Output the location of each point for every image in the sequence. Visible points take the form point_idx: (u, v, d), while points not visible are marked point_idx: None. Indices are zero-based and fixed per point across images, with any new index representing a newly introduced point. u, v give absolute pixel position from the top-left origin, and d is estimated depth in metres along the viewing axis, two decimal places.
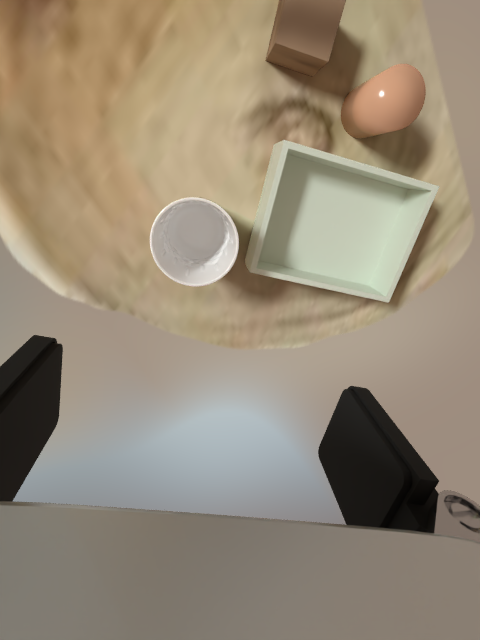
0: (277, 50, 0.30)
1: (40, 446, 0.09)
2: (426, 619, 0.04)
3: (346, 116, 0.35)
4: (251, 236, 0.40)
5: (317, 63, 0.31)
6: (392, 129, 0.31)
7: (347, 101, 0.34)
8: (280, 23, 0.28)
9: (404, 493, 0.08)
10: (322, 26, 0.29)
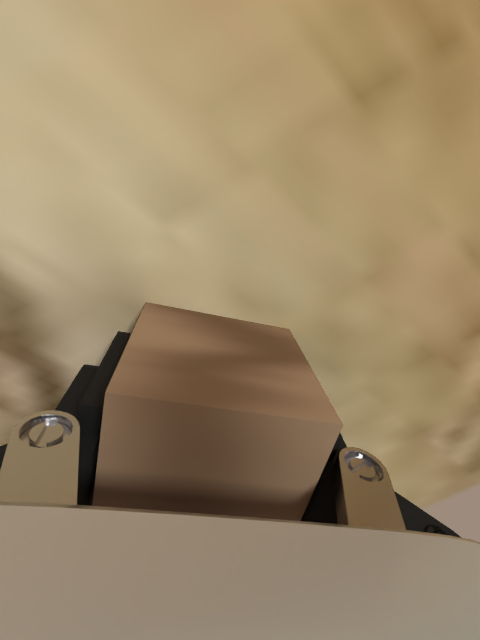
0: None
1: None
2: (426, 619, 0.04)
3: None
4: None
5: None
6: None
7: None
8: (178, 403, 0.07)
9: None
10: None
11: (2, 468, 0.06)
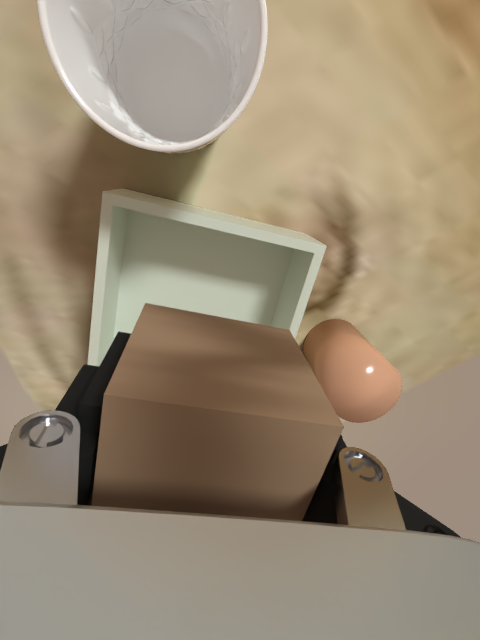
0: None
1: None
2: (425, 619, 0.04)
3: (332, 327, 0.27)
4: (169, 200, 0.23)
5: None
6: (332, 394, 0.23)
7: (348, 325, 0.27)
8: (178, 405, 0.07)
9: None
10: None
11: (2, 468, 0.06)
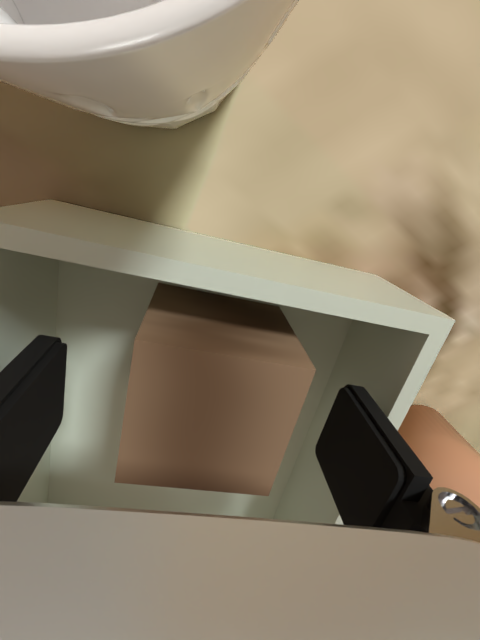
0: None
1: (45, 444, 0.09)
2: (426, 620, 0.04)
3: (413, 427, 0.16)
4: (138, 221, 0.12)
5: None
6: None
7: (438, 421, 0.17)
8: (189, 349, 0.09)
9: (399, 490, 0.08)
10: (193, 457, 0.10)
11: None
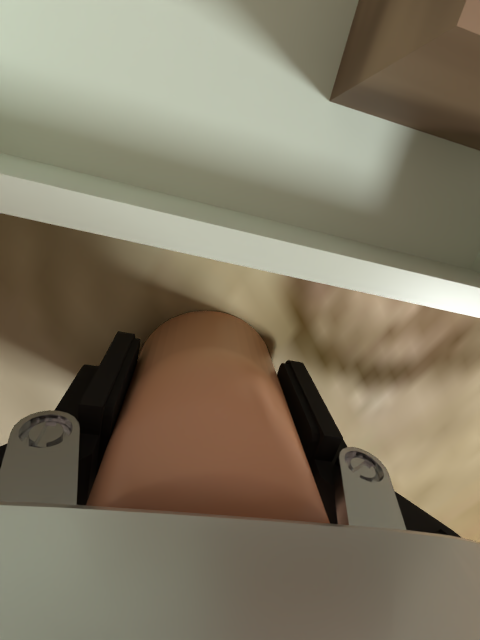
0: None
1: None
2: (426, 620, 0.04)
3: None
4: None
5: None
6: (199, 479, 0.05)
7: None
8: None
9: (312, 450, 0.09)
10: None
11: (2, 468, 0.06)
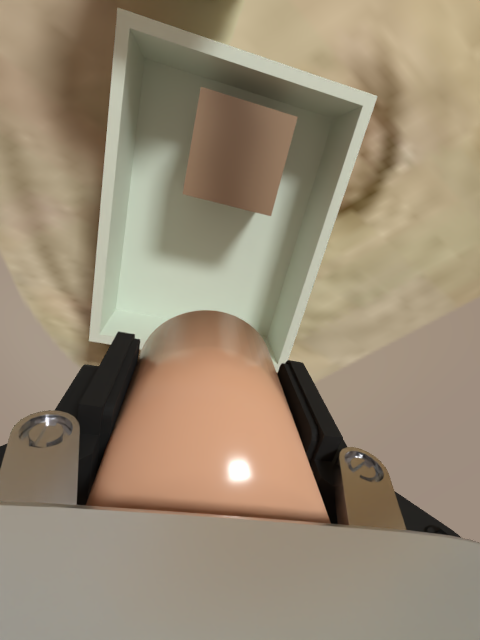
0: None
1: None
2: (426, 620, 0.04)
3: (275, 370, 0.11)
4: None
5: None
6: (199, 479, 0.05)
7: None
8: (228, 97, 0.17)
9: (312, 450, 0.09)
10: (228, 178, 0.18)
11: (2, 468, 0.06)
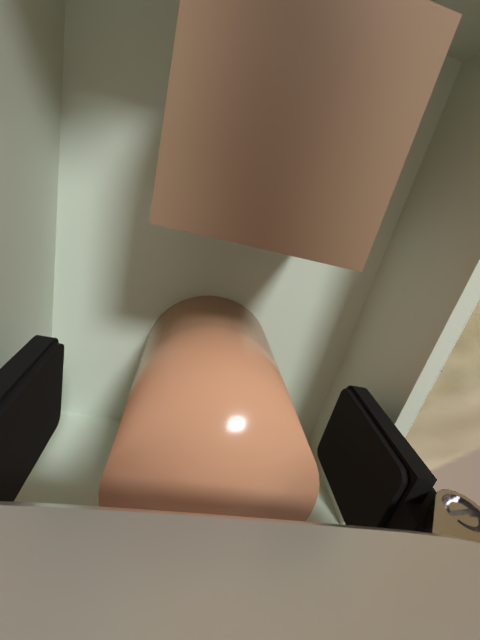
0: None
1: (42, 445, 0.09)
2: (426, 619, 0.04)
3: (270, 348, 0.13)
4: None
5: None
6: (208, 415, 0.07)
7: None
8: None
9: (402, 492, 0.08)
10: (265, 183, 0.07)
11: None
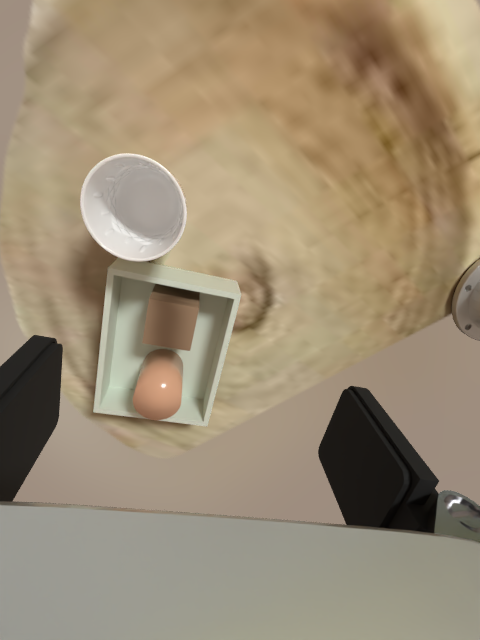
0: None
1: (40, 446, 0.09)
2: (425, 619, 0.04)
3: (181, 366, 0.40)
4: (148, 263, 0.37)
5: None
6: (155, 381, 0.34)
7: None
8: (163, 301, 0.33)
9: (404, 493, 0.08)
10: (165, 335, 0.35)
11: None
